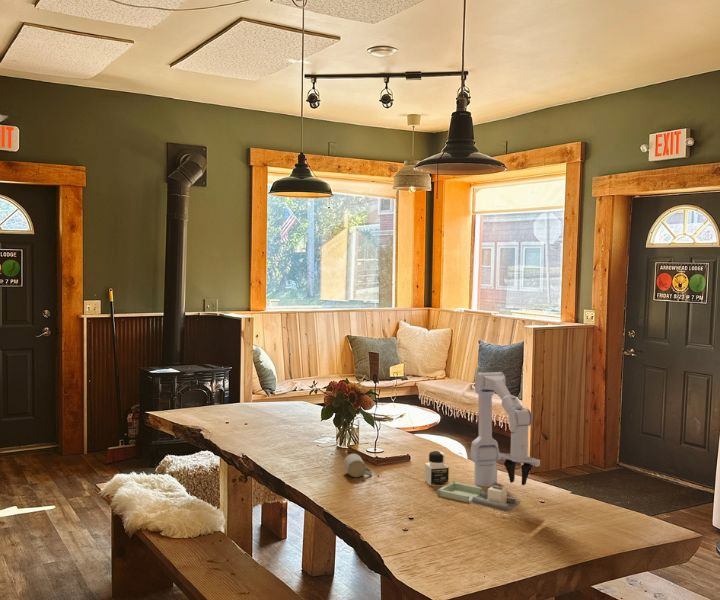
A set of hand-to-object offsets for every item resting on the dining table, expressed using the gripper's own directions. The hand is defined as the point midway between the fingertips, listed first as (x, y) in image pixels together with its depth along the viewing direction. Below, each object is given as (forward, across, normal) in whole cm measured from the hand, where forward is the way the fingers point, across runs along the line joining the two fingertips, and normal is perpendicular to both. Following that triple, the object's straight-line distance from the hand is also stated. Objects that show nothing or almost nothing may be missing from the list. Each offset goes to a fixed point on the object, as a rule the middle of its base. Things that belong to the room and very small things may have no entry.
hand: (517, 483), depth 258 cm
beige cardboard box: (+8, -8, 0) cm, 11 cm away
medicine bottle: (+10, -36, +9) cm, 39 cm away
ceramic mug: (+10, -66, -1) cm, 67 cm away
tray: (+9, -22, 0) cm, 24 cm away
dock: (+9, -8, 0) cm, 13 cm away
